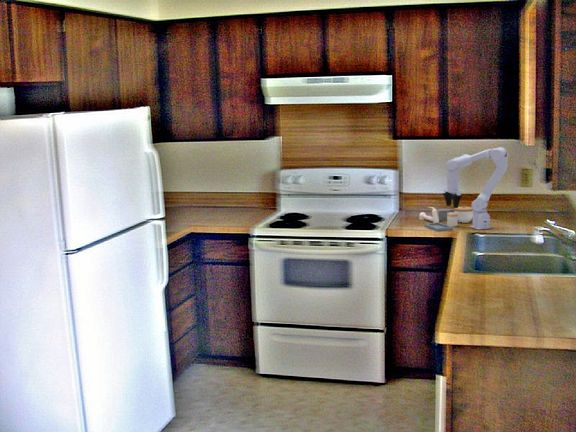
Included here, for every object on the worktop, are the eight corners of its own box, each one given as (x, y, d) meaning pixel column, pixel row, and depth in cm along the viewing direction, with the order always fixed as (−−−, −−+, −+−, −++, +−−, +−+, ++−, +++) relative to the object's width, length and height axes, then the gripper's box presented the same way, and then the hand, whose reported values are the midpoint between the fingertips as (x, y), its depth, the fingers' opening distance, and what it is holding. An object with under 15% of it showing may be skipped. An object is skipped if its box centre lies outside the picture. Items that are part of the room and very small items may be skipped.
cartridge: (457, 226, 405) (457, 213, 404) (450, 226, 404) (450, 213, 402) (453, 224, 409) (453, 212, 407) (447, 225, 408) (447, 212, 406)
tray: (452, 229, 395) (452, 227, 394) (437, 231, 392) (437, 228, 392) (439, 225, 409) (439, 222, 409) (424, 226, 406) (424, 223, 406)
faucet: (425, 227, 429) (422, 210, 431) (441, 221, 413) (437, 204, 414) (419, 227, 428) (416, 210, 429) (434, 222, 412) (431, 204, 413)
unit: (452, 220, 421) (452, 209, 419) (438, 221, 418) (438, 211, 417) (447, 218, 426) (447, 208, 425) (433, 220, 424) (433, 209, 423)
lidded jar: (450, 221, 419) (450, 204, 417) (466, 219, 423) (466, 202, 421) (460, 224, 409) (461, 207, 407) (477, 222, 413) (477, 205, 411)
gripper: (439, 180, 408) (439, 205, 410) (452, 184, 394) (452, 209, 396) (450, 179, 410) (450, 204, 412) (464, 183, 396) (464, 208, 398)
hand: (452, 206), depth 404 cm, fingers open, 7 cm apart
